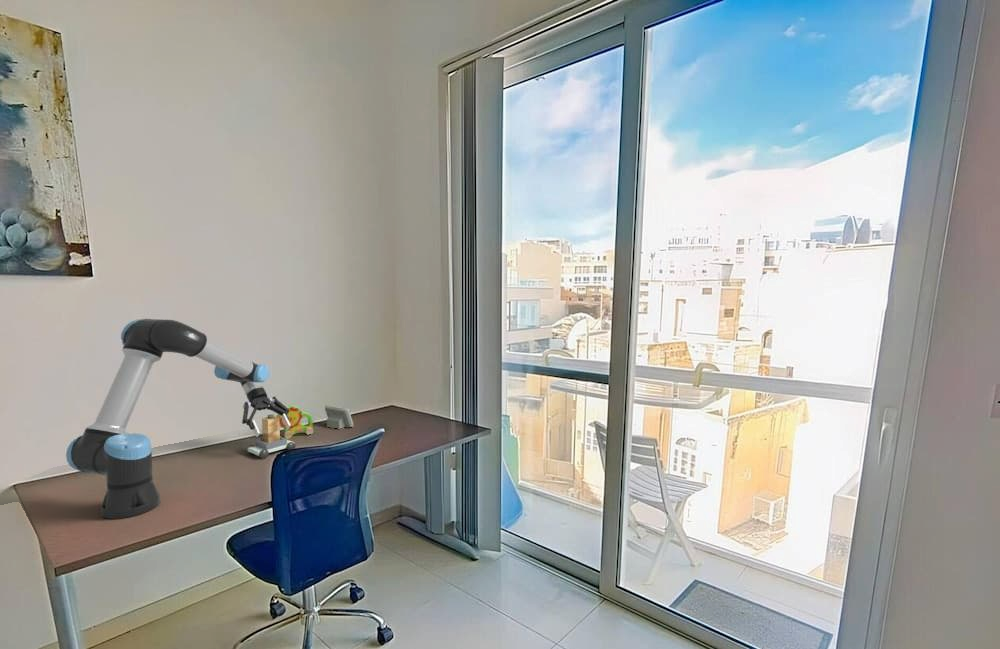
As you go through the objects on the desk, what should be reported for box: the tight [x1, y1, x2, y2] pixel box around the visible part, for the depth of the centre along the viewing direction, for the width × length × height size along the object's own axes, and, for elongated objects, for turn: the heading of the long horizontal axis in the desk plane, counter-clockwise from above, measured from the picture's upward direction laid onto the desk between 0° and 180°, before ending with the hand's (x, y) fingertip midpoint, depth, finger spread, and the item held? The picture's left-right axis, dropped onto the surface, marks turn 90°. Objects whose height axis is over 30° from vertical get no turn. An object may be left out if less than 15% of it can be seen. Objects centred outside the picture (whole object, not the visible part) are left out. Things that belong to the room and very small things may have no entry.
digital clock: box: [324, 405, 354, 430], centre depth 243 cm, size 16×9×11 cm, turn 51°
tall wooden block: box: [261, 414, 281, 443], centre depth 206 cm, size 5×5×13 cm
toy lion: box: [276, 405, 314, 440], centre depth 227 cm, size 16×5×15 cm, turn 128°
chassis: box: [246, 436, 296, 459], centre depth 206 cm, size 16×11×6 cm
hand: (273, 431), depth 204 cm, fingers open, 13 cm apart
